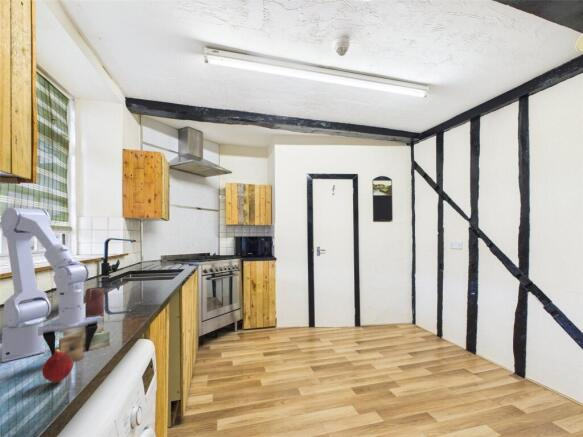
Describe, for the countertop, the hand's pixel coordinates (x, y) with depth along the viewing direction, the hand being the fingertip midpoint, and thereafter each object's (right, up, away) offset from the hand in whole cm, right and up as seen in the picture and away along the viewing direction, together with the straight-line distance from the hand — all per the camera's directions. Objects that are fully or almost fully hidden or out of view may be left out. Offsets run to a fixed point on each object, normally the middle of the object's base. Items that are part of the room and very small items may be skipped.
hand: (70, 354), depth 84 cm
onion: (+7, -1, -13) cm, 15 cm away
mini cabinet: (0, -2, 0) cm, 2 cm away
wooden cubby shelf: (-2, -2, +10) cm, 10 cm away
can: (-14, -3, +32) cm, 35 cm away
